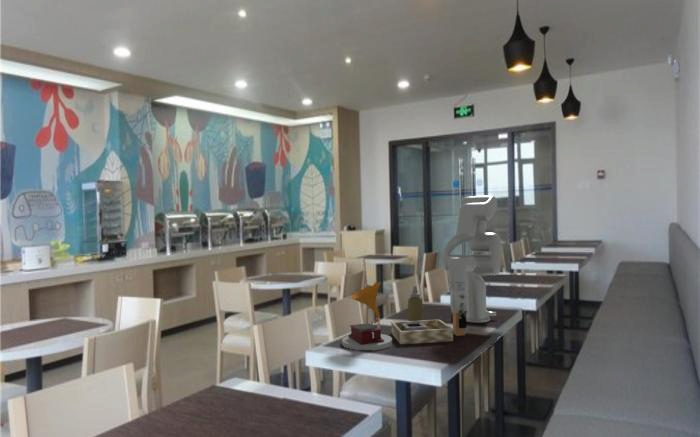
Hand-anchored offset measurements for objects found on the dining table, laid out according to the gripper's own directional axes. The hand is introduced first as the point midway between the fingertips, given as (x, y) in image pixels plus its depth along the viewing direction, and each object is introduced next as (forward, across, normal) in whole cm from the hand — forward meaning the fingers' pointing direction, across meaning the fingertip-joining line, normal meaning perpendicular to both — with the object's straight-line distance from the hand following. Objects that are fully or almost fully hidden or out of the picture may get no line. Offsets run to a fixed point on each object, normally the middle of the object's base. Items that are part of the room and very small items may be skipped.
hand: (458, 325), depth 210 cm
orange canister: (+4, 0, 0) cm, 4 cm away
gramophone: (+4, -6, +41) cm, 42 cm away
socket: (+4, -1, +20) cm, 20 cm away
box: (+4, -1, +17) cm, 17 cm away
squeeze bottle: (+4, +24, +13) cm, 28 cm away
